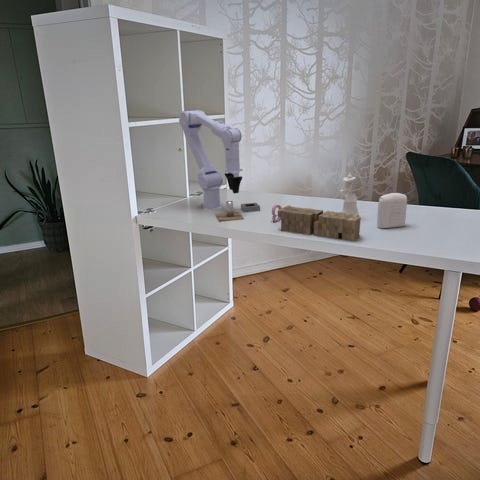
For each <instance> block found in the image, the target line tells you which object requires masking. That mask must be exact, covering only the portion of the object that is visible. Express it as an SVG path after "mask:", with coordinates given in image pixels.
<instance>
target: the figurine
mask: <svg viewBox="0 0 480 480" xmlns="http://www.w3.org/2000/svg"><path fill="white" fill-rule="evenodd" d="M355 179H356V176H353V175H352V173H351V172H349V173H347V175H346V176H345V177H344V178H343V179H342V180H343V181H344V182H346V183H347V184H346V185H345V189H339V192H346V193H344V196H343V198H342V199H341V200H342V201H343V204H342V205H343V206H342V211H341V213H350V214H358V215H359V217H361V216H360V214H359V213H360V212H359V211H358V206H357V200H359V198H358V197H357V195H356V194H355V193H353V192H352V190H353V185H354V184H353V182H354V181H355Z"/></svg>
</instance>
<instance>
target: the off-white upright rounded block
mask: <svg viewBox="0 0 480 480" xmlns="http://www.w3.org/2000/svg"><path fill="white" fill-rule="evenodd" d="M377 205H378V207H377V221H376V226H377V228H379V229H391V228H398V227H405V226H406V219H407V218H406V217H407V206H408V197H407V195H406V194H403V193H400V192H391V193H386V194H383V195H382V196H379V198H378V204H377Z"/></svg>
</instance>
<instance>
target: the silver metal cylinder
mask: <svg viewBox="0 0 480 480" xmlns="http://www.w3.org/2000/svg"><path fill="white" fill-rule="evenodd" d="M225 205H226V206H225V208H226V213H227V217H233V216H234V214H233V213H234V201H232V200H227V201H225Z"/></svg>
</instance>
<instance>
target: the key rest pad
mask: <svg viewBox="0 0 480 480" xmlns="http://www.w3.org/2000/svg"><path fill="white" fill-rule="evenodd" d="M214 214H215V213H214ZM233 214H234V216H233V217H227V212H225V213H216V214H215V217H216V219H217V220H218V222H219V223H220V222H221V223H222V222H230V221H240V220H241V221H242V220H245V218H244V216H243V215H242V214H241V213H240V212H239V211H237V212H234V211H233Z"/></svg>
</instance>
